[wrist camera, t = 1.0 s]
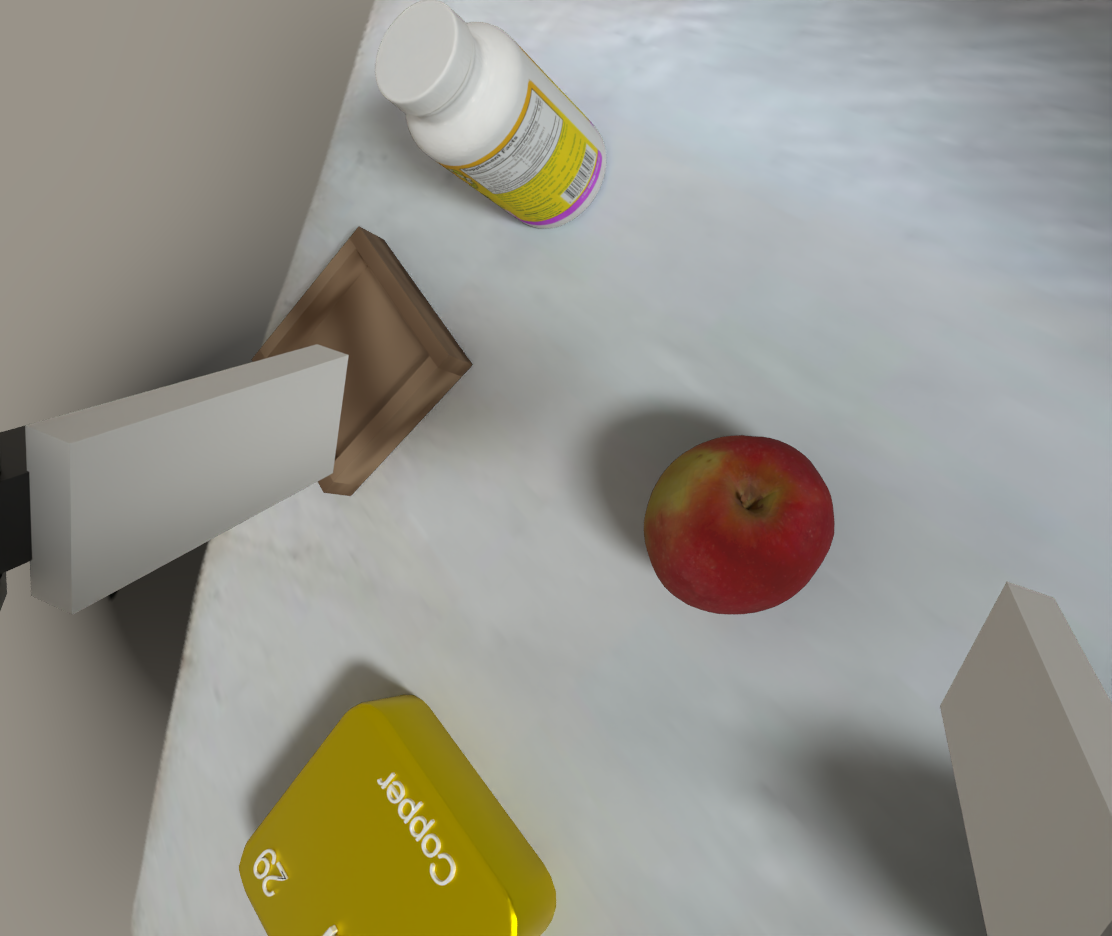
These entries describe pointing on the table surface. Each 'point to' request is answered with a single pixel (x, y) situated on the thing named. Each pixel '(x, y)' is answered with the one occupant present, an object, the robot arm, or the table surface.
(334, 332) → the walnut tray
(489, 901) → the element tile
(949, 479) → the table surface
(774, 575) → the apple
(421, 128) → the supplement bottle
